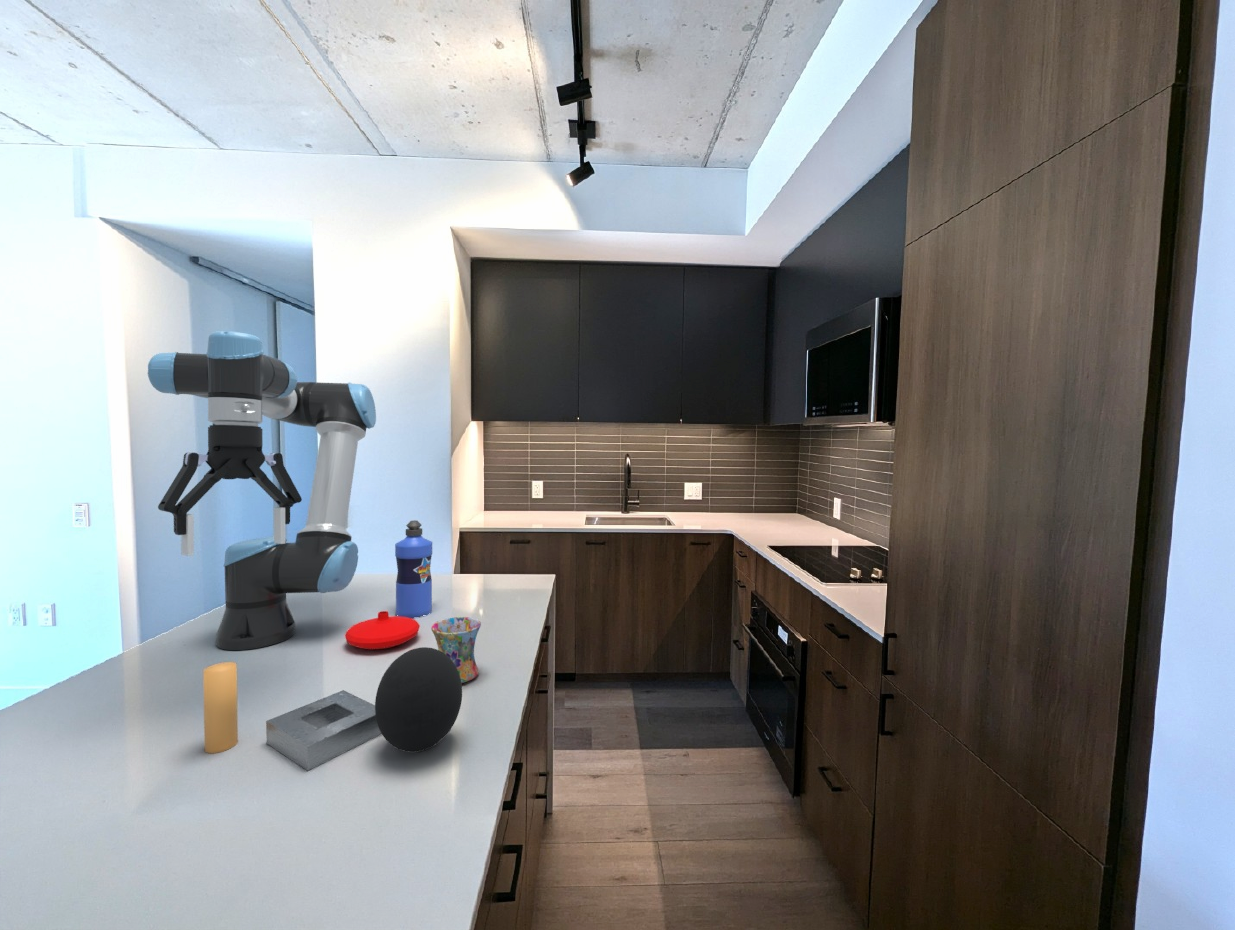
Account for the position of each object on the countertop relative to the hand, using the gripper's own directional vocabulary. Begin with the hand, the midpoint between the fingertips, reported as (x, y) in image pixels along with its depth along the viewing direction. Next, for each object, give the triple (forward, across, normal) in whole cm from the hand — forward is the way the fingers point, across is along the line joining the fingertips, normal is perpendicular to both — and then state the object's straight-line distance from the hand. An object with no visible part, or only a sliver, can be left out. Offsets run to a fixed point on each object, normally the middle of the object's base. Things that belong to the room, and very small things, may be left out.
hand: (236, 548), depth 89 cm
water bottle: (+27, +49, +18) cm, 59 cm away
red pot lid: (+27, +32, +6) cm, 42 cm away
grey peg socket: (+28, +4, -22) cm, 36 cm away
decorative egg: (+28, +10, -36) cm, 47 cm away
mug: (+28, +30, -21) cm, 46 cm away
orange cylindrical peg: (+28, -6, -11) cm, 31 cm away
